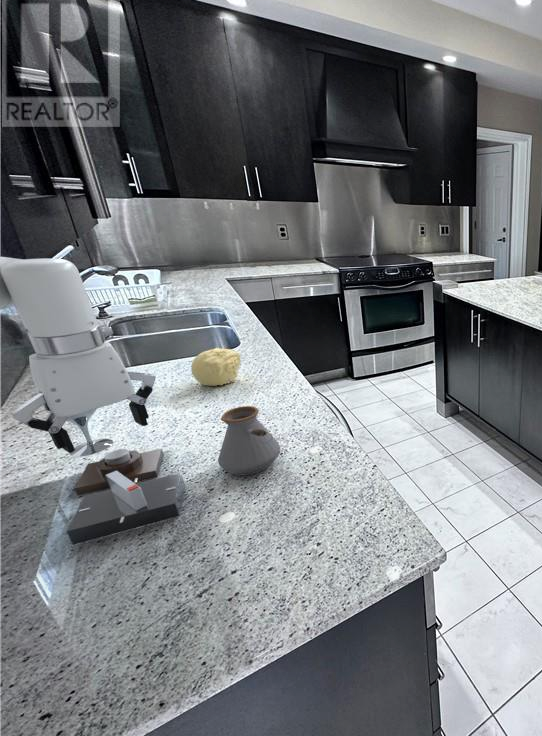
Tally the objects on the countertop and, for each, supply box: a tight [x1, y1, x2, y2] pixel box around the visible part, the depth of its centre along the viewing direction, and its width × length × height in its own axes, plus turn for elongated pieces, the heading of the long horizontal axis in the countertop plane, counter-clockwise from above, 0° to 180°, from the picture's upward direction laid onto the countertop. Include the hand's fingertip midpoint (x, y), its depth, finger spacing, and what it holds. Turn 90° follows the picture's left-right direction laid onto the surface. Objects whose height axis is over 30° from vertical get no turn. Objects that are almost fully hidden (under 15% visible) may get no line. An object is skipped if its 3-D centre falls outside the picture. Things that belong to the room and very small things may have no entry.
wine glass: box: [49, 409, 114, 457], centre depth 89 cm, size 8×8×15 cm
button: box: [104, 448, 131, 466], centre depth 82 cm, size 4×4×2 cm
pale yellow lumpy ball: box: [190, 347, 242, 387], centre depth 124 cm, size 11×12×11 cm
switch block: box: [74, 448, 165, 496], centre depth 83 cm, size 12×9×4 cm
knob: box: [106, 471, 147, 511], centre depth 72 cm, size 9×2×4 cm, turn 62°
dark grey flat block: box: [66, 472, 186, 546], centre depth 74 cm, size 14×13×3 cm
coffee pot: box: [217, 405, 281, 476], centre depth 83 cm, size 21×12×15 cm, turn 47°
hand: (107, 436), depth 69 cm, fingers open, 9 cm apart
